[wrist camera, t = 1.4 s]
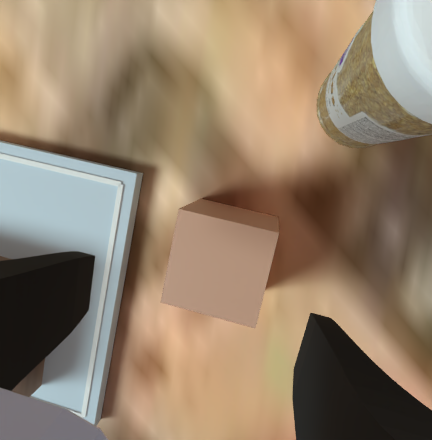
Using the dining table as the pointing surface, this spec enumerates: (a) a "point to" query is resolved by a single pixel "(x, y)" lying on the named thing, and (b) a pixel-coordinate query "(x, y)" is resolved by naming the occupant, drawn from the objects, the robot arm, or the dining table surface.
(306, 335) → the robot arm
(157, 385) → the dining table surface
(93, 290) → the board
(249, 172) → the dining table surface
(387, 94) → the spice jar
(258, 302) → the terracotta block
